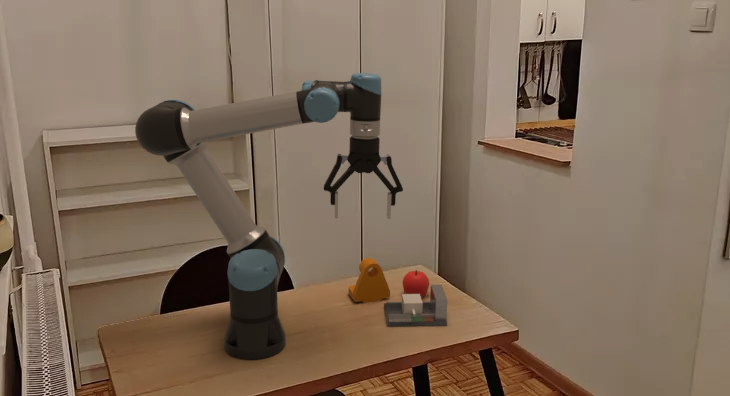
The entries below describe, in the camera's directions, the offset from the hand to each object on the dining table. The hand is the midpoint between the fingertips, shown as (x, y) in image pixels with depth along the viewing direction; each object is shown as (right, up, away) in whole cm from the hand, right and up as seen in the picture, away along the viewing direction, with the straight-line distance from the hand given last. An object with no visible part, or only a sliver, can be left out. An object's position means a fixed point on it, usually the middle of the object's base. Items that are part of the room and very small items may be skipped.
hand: (362, 217), depth 171 cm
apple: (+16, -24, +25) cm, 38 cm away
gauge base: (+14, -28, +11) cm, 33 cm away
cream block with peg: (+14, -27, +10) cm, 32 cm away
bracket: (+2, -24, +23) cm, 34 cm away
